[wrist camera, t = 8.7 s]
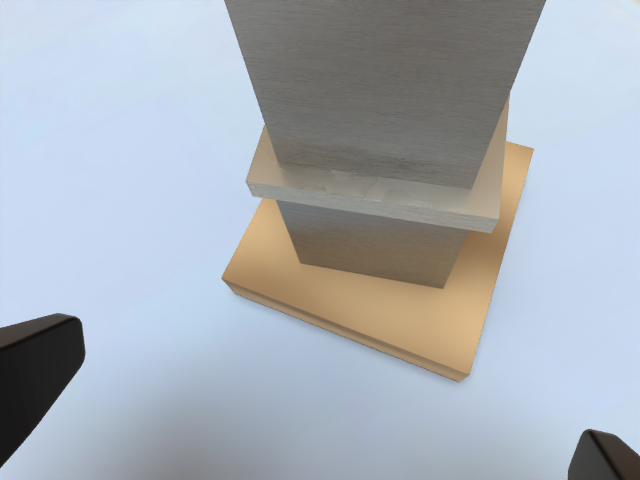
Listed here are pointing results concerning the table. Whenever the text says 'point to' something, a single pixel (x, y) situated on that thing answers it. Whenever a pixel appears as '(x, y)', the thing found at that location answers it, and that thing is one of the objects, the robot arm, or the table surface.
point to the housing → (383, 124)
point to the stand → (384, 287)
